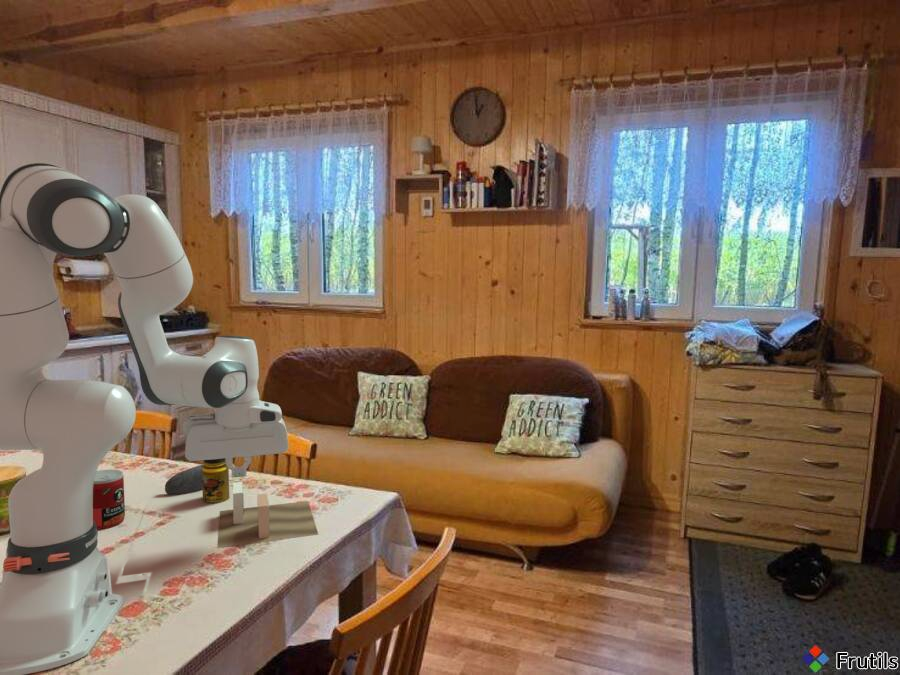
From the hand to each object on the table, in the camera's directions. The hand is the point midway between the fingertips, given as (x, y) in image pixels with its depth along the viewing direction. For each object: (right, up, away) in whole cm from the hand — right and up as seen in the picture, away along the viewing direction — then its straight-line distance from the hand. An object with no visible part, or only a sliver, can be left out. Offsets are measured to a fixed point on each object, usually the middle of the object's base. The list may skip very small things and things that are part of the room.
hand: (239, 476), depth 121 cm
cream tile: (-4, -12, +9) cm, 15 cm away
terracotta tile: (+4, -13, +3) cm, 13 cm away
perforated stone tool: (-21, -11, +26) cm, 35 cm away
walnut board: (+4, -13, +7) cm, 16 cm away
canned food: (-33, -13, +8) cm, 36 cm away
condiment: (-13, -12, +21) cm, 27 cm away
